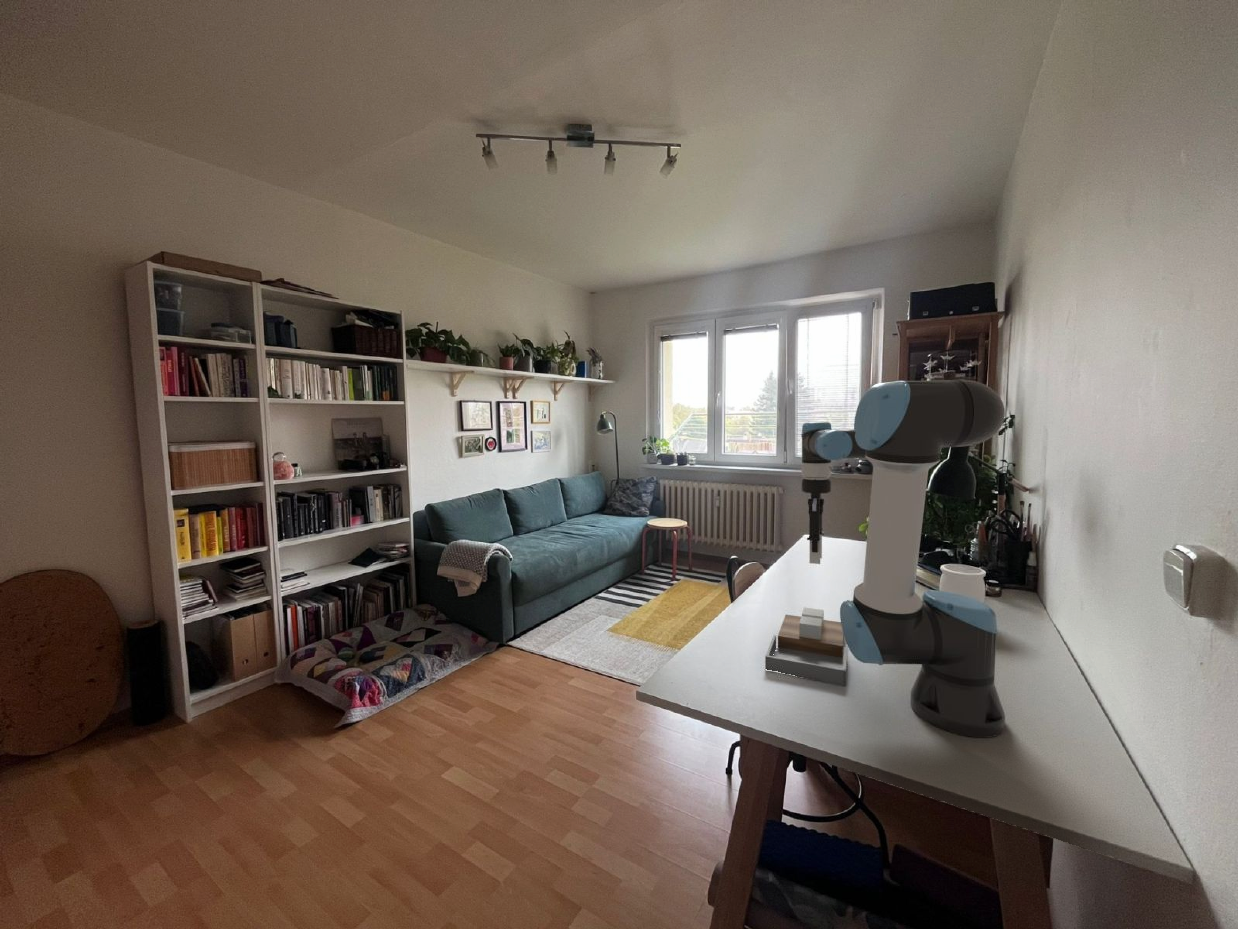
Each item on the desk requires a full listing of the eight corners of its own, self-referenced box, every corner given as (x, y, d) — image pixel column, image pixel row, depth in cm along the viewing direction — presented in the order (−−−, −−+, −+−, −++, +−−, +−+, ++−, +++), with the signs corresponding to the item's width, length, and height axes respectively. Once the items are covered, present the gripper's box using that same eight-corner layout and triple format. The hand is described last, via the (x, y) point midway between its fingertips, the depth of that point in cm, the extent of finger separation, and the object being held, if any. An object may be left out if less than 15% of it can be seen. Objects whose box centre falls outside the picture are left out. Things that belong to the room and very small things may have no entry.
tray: (845, 686, 106) (845, 670, 106) (765, 670, 114) (765, 656, 113) (847, 660, 117) (847, 646, 117) (773, 648, 125) (773, 635, 125)
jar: (992, 624, 136) (994, 571, 135) (968, 630, 132) (969, 576, 131) (954, 610, 146) (955, 561, 144) (930, 616, 142) (931, 566, 141)
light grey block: (820, 640, 121) (820, 626, 121) (799, 636, 123) (799, 623, 123) (822, 632, 125) (822, 618, 125) (801, 629, 128) (801, 616, 127)
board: (842, 660, 118) (842, 646, 117) (777, 649, 124) (777, 635, 124) (844, 635, 131) (844, 622, 131) (785, 626, 138) (785, 614, 137)
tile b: (822, 629, 127) (822, 616, 127) (801, 626, 129) (802, 614, 129) (823, 622, 131) (823, 610, 131) (803, 619, 133) (803, 607, 133)
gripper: (829, 482, 125) (828, 571, 127) (832, 474, 141) (831, 553, 143) (798, 481, 128) (797, 568, 130) (805, 474, 145) (804, 551, 146)
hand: (815, 560), depth 137 cm, fingers open, 5 cm apart
